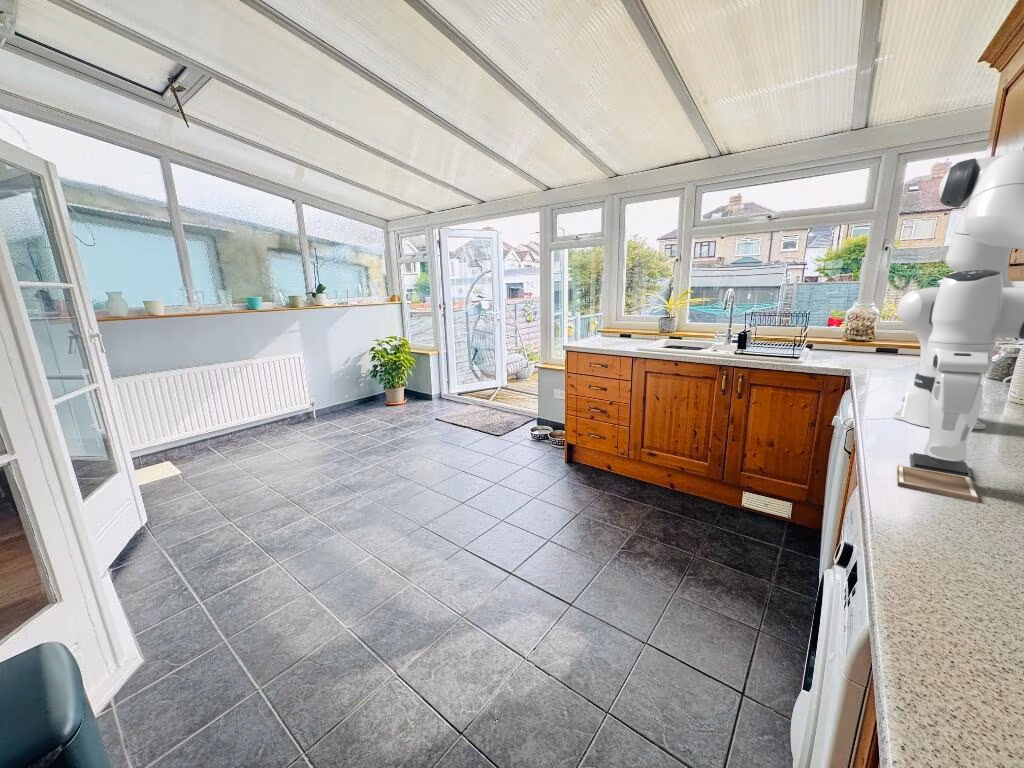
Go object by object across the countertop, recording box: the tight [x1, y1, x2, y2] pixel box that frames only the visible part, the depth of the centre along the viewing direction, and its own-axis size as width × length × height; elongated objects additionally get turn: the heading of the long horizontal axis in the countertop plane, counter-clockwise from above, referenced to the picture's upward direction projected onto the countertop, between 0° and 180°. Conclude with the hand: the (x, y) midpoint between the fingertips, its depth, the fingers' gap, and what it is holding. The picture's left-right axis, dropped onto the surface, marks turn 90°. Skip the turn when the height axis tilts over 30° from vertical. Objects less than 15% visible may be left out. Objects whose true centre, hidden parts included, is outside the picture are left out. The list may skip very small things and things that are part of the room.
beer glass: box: [923, 381, 984, 462], centre depth 82 cm, size 7×7×15 cm
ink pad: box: [909, 452, 973, 480], centre depth 91 cm, size 9×9×2 cm
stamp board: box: [896, 464, 980, 503], centre depth 84 cm, size 11×11×1 cm
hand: (945, 425), depth 82 cm, fingers closed on beer glass, 6 cm apart
